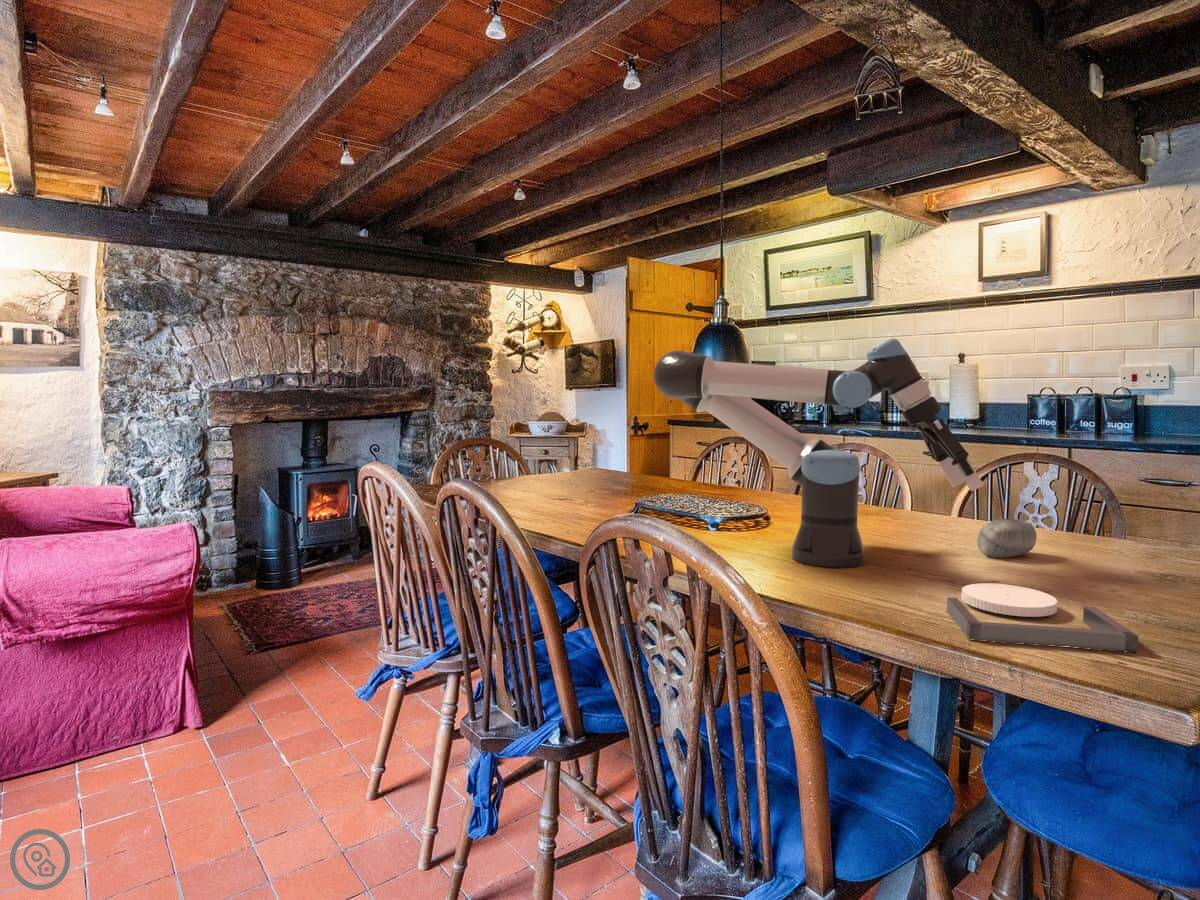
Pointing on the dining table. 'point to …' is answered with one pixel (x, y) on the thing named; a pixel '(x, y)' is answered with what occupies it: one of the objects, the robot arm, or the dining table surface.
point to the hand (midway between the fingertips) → (967, 486)
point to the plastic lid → (1009, 599)
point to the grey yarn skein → (1006, 538)
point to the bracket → (1049, 631)
